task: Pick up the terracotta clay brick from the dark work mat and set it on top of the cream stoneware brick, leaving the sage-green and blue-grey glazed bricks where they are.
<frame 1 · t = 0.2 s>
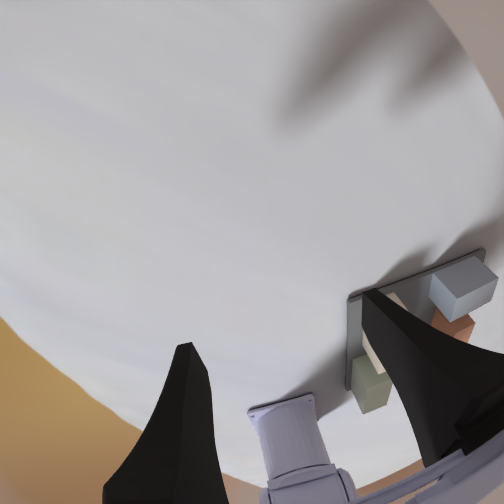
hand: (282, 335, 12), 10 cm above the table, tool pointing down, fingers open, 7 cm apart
work mat: (415, 324, 30), on the table
terracotta brick: (440, 322, 31), resting on work mat
bluegrey brick: (452, 275, 27), resting on work mat
cream brick: (377, 319, 28), resting on work mat
sage brick: (363, 370, 32), resting on work mat
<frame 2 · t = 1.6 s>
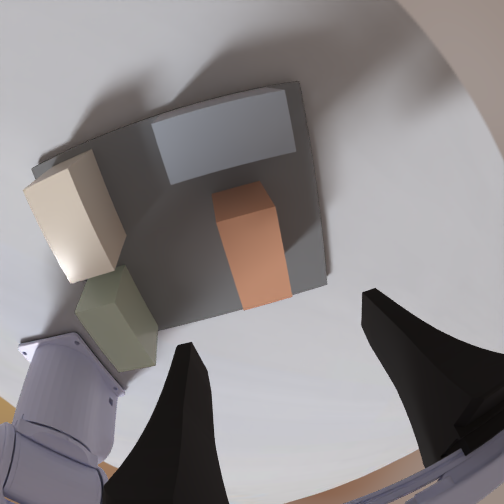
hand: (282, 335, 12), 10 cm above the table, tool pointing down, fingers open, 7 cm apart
work mat: (189, 227, 20), on the table
terracotta brick: (246, 229, 20), resting on work mat
bluegrey brick: (219, 124, 17), resting on work mat
cream brick: (88, 201, 17), resting on work mat
sage brick: (124, 302, 22), resting on work mat
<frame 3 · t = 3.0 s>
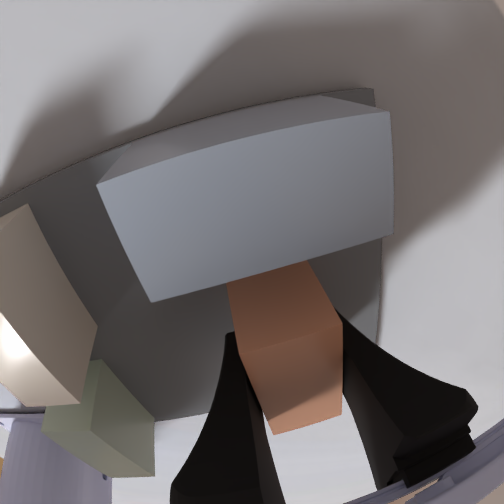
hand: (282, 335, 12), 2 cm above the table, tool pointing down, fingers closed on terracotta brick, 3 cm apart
work mat: (190, 314, 13), on the table
terracotta brick: (276, 317, 13), resting on work mat, touching gripper
bluegrey brick: (238, 158, 10), resting on work mat
cream brick: (36, 280, 10), resting on work mat
sage brick: (107, 395, 15), resting on work mat
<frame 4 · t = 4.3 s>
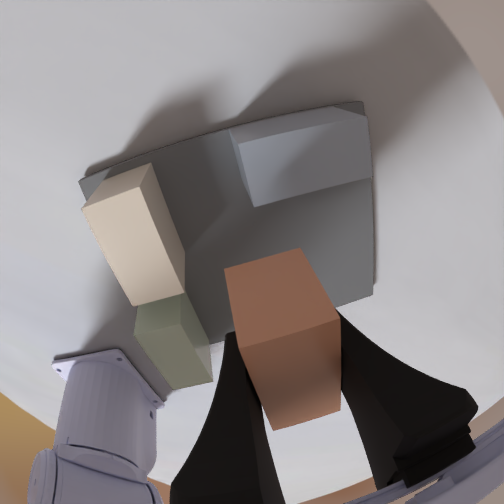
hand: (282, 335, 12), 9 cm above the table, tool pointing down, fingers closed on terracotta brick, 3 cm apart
work mat: (249, 243, 20), on the table
terracotta brick: (275, 313, 14), point 8 cm above the table, touching gripper
bluegrey brick: (287, 141, 17), resting on work mat
cream brick: (144, 217, 18), resting on work mat
sage brick: (176, 318, 22), resting on work mat
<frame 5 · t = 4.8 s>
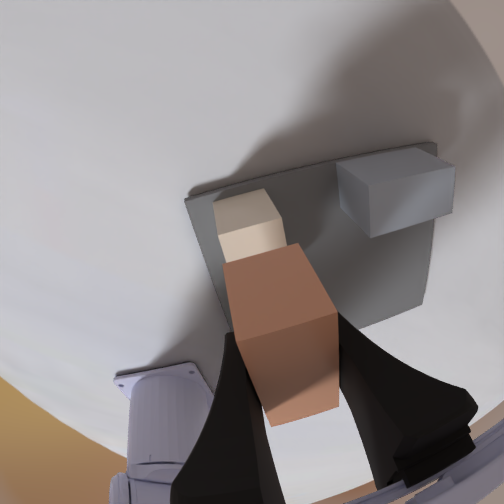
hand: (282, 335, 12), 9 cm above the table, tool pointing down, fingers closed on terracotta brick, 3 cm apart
work mat: (335, 262, 22), on the table
terracotta brick: (273, 309, 14), point 7 cm above the table, touching gripper
bluegrey brick: (379, 176, 18), resting on work mat
cream brick: (249, 239, 19), resting on work mat
when the fingers open (7 cm above the table, at t = 5.3 s): terracotta brick stays where it is, resting on cream brick.
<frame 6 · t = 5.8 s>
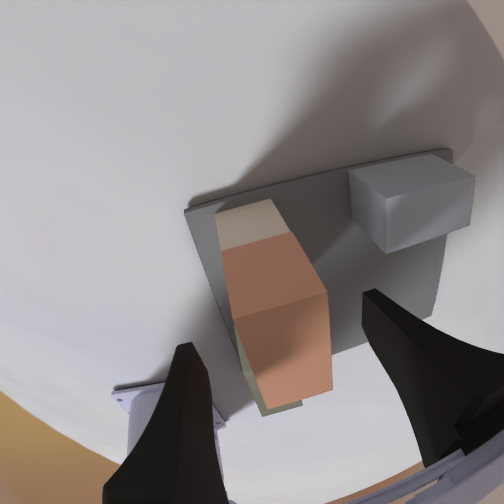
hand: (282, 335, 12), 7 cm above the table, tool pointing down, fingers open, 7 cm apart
work mat: (344, 275, 21), on the table
terracotta brick: (269, 295, 14), point 4 cm above the table, touching cream brick
bluegrey brick: (393, 184, 17), resting on work mat
cream brick: (254, 253, 18), resting on work mat, touching terracotta brick
sage brick: (264, 347, 22), resting on work mat
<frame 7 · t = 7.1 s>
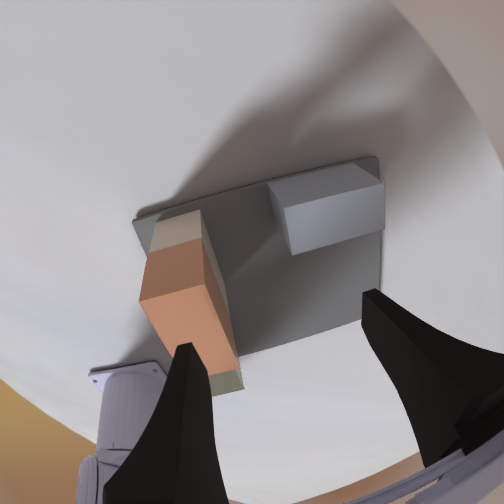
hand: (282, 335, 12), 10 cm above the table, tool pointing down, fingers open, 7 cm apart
work mat: (278, 274, 24), on the table
terracotta brick: (192, 288, 18), point 4 cm above the table, touching cream brick
bluegrey brick: (315, 193, 20), resting on work mat
cream brick: (191, 254, 21), resting on work mat, touching terracotta brick
sage brick: (211, 335, 26), resting on work mat
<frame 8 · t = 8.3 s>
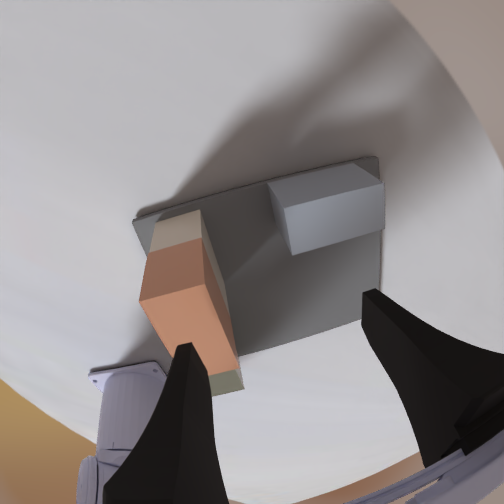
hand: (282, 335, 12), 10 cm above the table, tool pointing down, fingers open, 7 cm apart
work mat: (278, 274, 24), on the table
terracotta brick: (192, 288, 18), point 4 cm above the table, touching cream brick
bluegrey brick: (315, 193, 20), resting on work mat
cream brick: (191, 254, 21), resting on work mat, touching terracotta brick
sage brick: (211, 335, 26), resting on work mat
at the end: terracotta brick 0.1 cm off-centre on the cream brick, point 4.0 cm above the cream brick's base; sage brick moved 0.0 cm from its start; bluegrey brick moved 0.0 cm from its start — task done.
